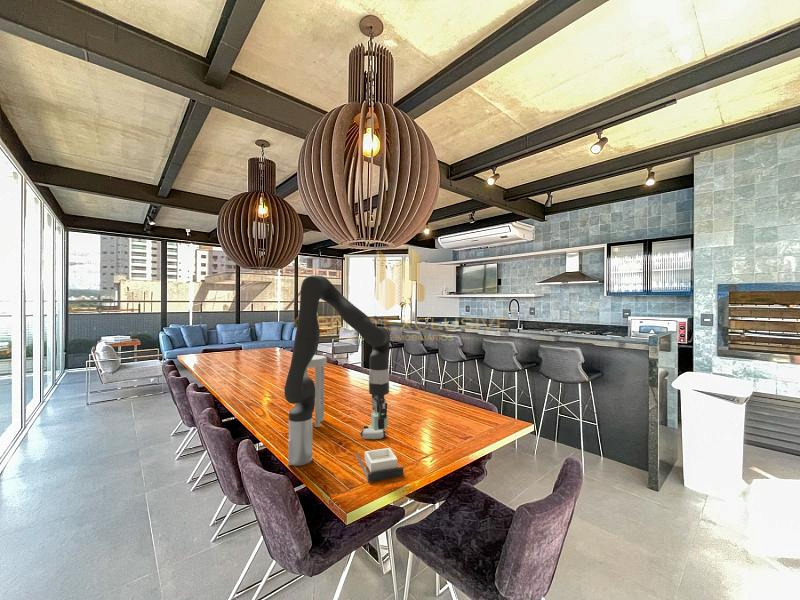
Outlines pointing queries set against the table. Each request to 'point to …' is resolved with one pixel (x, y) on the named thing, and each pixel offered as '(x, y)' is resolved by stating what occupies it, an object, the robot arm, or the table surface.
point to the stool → (318, 386)
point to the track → (381, 473)
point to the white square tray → (380, 459)
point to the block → (375, 421)
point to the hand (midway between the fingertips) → (379, 425)
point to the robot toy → (372, 433)
